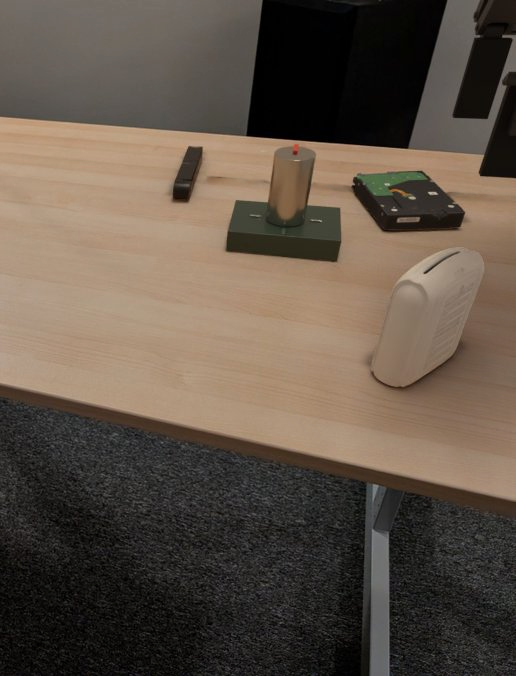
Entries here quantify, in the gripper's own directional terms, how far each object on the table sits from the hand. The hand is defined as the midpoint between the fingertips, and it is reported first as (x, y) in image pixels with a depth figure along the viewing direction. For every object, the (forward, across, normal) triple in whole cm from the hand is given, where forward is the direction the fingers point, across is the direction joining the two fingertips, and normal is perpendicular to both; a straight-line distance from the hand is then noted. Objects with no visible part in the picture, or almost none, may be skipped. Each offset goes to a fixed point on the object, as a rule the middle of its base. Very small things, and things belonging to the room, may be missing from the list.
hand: (483, 144), depth 53 cm
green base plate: (+23, +25, +14) cm, 37 cm away
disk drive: (+23, +38, -2) cm, 44 cm away
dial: (+20, +25, +14) cm, 35 cm away
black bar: (+23, +43, +30) cm, 57 cm away
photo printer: (+23, 0, 0) cm, 23 cm away
